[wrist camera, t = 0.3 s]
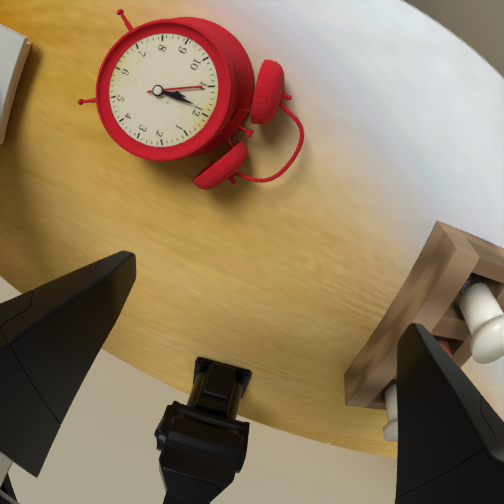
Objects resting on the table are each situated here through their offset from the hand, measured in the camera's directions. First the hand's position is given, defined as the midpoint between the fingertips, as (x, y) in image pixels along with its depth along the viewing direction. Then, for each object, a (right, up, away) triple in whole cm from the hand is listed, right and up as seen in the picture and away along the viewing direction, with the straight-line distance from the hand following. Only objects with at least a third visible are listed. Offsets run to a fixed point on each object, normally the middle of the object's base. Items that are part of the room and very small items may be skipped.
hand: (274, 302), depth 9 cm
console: (+16, -5, +17) cm, 24 cm away
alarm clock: (-4, +12, +10) cm, 17 cm away
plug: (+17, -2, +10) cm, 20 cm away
